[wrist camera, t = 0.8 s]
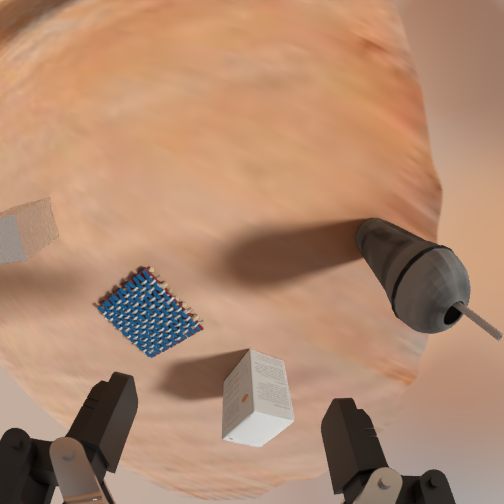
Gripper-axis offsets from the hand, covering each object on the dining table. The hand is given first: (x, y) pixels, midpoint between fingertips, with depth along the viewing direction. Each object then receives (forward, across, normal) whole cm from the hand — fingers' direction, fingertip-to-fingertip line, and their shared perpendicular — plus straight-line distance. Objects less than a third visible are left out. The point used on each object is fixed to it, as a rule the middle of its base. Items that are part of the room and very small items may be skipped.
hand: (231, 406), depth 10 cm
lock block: (+20, +27, 0) cm, 33 cm away
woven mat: (+22, +10, +11) cm, 27 cm away
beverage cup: (+22, -14, -3) cm, 26 cm away
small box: (+23, -4, +19) cm, 30 cm away
